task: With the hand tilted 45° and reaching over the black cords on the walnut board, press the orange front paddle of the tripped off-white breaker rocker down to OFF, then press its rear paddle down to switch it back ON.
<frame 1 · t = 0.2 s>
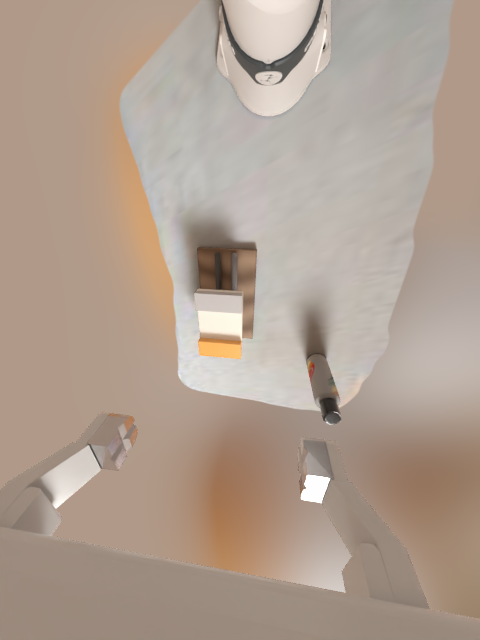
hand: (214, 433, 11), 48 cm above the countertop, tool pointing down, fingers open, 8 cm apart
lotion bottle: (316, 360, 65), on the countertop
breaker rocker: (220, 325, 51), point 11 cm above the countertop, hinge at 0.0°
mounting board: (228, 295, 59), on the countertop
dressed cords: (227, 276, 56), resting on mounting board
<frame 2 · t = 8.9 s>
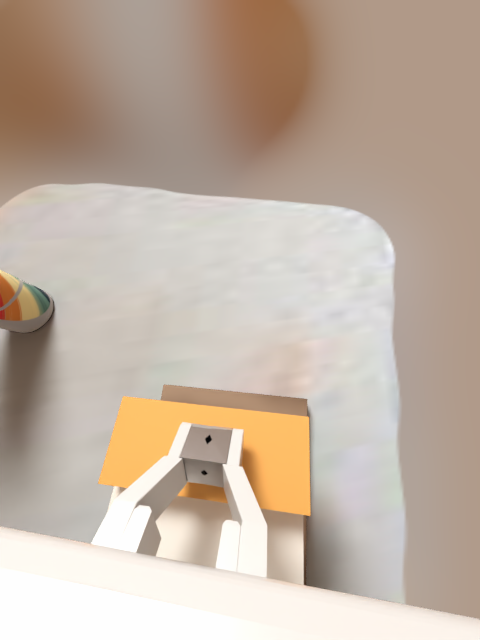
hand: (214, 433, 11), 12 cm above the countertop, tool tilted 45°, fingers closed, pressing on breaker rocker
lotion bottle: (34, 312, 28), on the countertop
breaker rocker: (191, 597, 10), point 11 cm above the countertop, hinge at 5.3°, touching gripper
mounting board: (220, 535, 19), on the countertop
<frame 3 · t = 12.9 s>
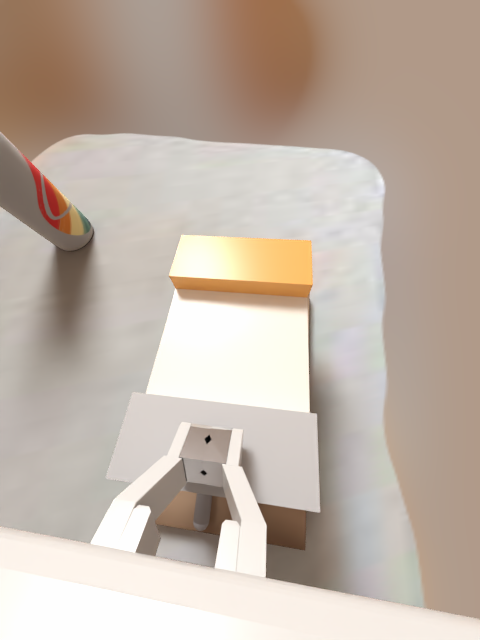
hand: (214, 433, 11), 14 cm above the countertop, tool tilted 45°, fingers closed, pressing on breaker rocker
lotion bottle: (76, 236, 32), on the countertop
breaker rocker: (232, 341, 15), point 11 cm above the countertop, hinge at 9.1°, touching gripper
mounting board: (239, 391, 24), on the countertop
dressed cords: (234, 442, 23), resting on mounting board
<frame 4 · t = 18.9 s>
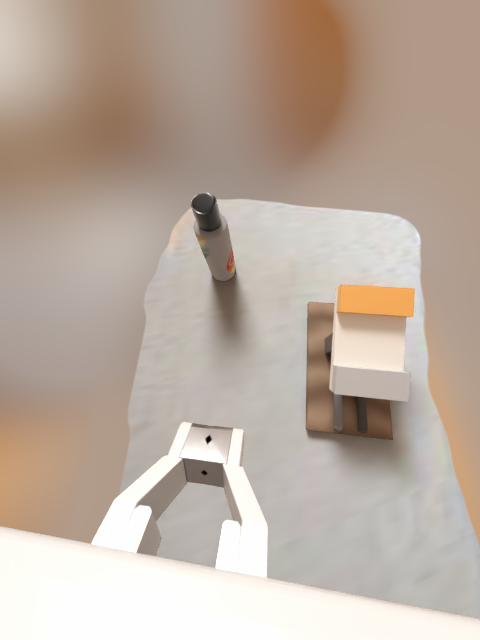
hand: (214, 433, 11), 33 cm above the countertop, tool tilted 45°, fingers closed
lotion bottle: (223, 271, 51), on the countertop
breaker rocker: (369, 341, 33), point 11 cm above the countertop, hinge at -14.6°
mounting board: (343, 364, 43), on the countertop
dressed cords: (344, 391, 42), resting on mounting board
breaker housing: (346, 348, 42), resting on mounting board
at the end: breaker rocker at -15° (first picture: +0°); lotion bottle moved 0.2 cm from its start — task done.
